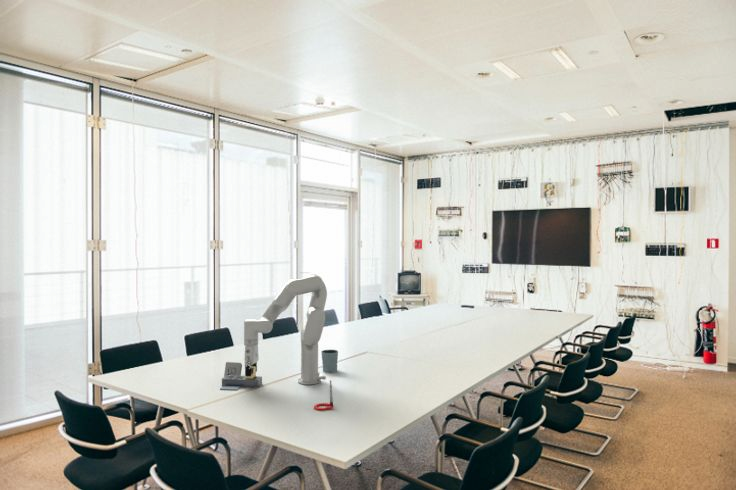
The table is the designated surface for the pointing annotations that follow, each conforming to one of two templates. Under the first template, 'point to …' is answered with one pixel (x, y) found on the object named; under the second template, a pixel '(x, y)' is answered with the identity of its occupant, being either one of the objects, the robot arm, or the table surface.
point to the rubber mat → (230, 388)
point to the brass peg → (252, 373)
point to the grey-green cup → (329, 360)
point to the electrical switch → (233, 369)
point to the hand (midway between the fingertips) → (251, 373)
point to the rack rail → (241, 381)
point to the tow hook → (330, 405)
